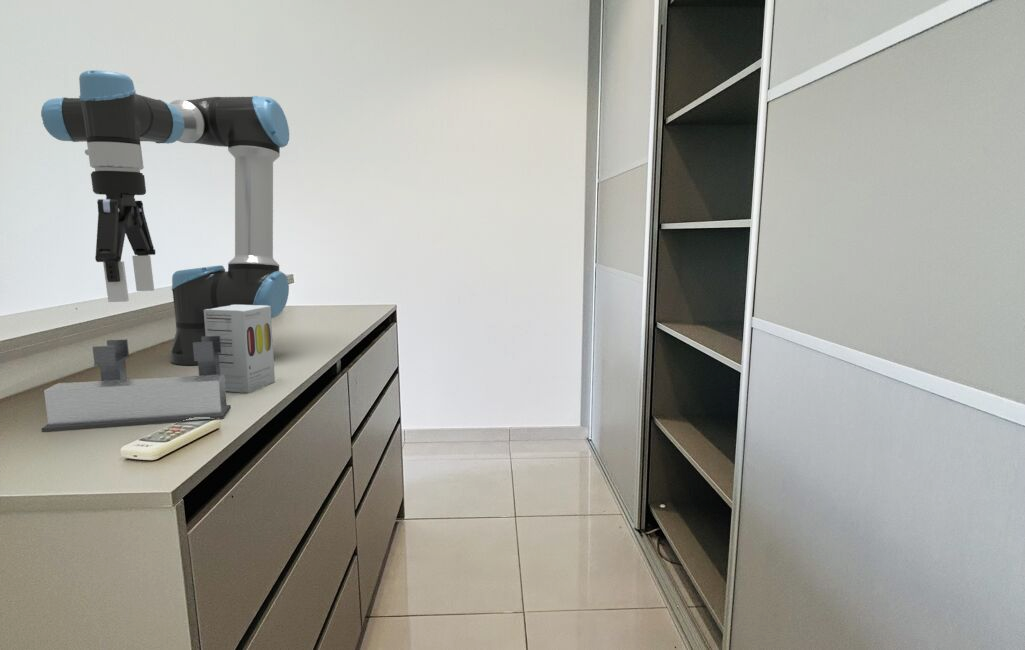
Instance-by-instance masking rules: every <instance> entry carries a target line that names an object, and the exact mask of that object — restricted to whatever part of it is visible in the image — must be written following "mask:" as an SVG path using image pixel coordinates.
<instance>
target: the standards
mask: <svg viewBox="0 0 1025 650" xmlns="http://www.w3.org/2000/svg"><path fill="white" fill-rule="evenodd" d="M201 340H202V342H193V351H194V361H198V365H197V366H198V367H197V369H198V370H197V371H198V376H203V375H220V365H219V354H221V342H220V336H202V337H201ZM92 354H93V363H94V366H95V367H99V370H100V377H101V381H111V380H128V375H127V368H126V367H127V365H126V359H128V358H130V352H129V342H128V339H126V338H125V339H107V340H106V345H96V346H95V345H94V346H92Z"/></svg>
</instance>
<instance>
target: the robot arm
mask: <svg viewBox="0 0 1025 650" xmlns="http://www.w3.org/2000/svg"><path fill="white" fill-rule="evenodd" d="M78 80H79V81H78V83H79V94H80V95H79V96H78V97H66V96H65V97H64V96H63V97H59V98H57V97H56V98H50V99H48V100H46V101H45V102H44V103H43V105H42V107H41V112H40V116H41V119H42V125H43V126H44V128H45V130H46V131H47V133H49V134H50V136H51V137H53V138H54V139H57V140H59V141H61V142H62V141H63V142H72V143H79V142H85V143H86V146H87V149H85V150H84V155H86V156H88V160H89V166H90V167H91V168H93V169H94V170H93V171H91V173H90V179H91V185H92V192H93V193H94V194H96V195H103V196H104V195H105V197H106V198H105V199H103V198H100V199H99V198H98V199H97V200H96V201H97V213H98V215H97V230H96V232H97V233H96V246H95V262H96V263H102V265H103V272H104V273H103V274H104V279H105V286H106V293H107V301H108V303H118V302H119V303H120V302H123V303H124V302H125V303H126V302H130V298H129V291H128V284H127V283H128V282H127V275H126V267H125V261H122V255H123V249H124V244H125V238H126V237H127V240H128V242H129V244H130V246H131V249H132V251H133V253H134V255H132V264H133V273H134V281H135V289H136V290H135V291H136V292H147V291H148V292H150V291H151V292H153V291H155V285H154V276H153V275H154V274H153V267H152V259H151V258H152V257H151V256H155V255H156V249H155V247H154V244H153V240H152V237H151V233H150V230H149V225H148V222H147V219H146V216H145V211H144V210H145V209H144V203H143V201H142V200H136V198H135V196H144V195H146V193H147V189H146V188H147V187H146V186H147V185H146V180H145V179H146V178H145V175H144V174H143V173H142V172H141V170H142V171H143V169H144V168H145V167H144V160H143V152H142V146H141V142H151V143H156V144H168V145H169V144H173V143H176V142H179V143H183V144H197V145H199V144H200V145H206V146H213V147H222V148H223V147H226V148H227V150H228V153H229V154H230V155H231V156H232V157H233V158H234V257H233V258H232V259H231V260H230V261H229V262H228V263H227V266H228V267H227V271H226V269H225V267H224V265H211V266H205V267H197V268H196V267H195V268H189V269H181V270H176V271H175V272H174V273H173V274H172V278H171V280H172V281H171V291H172V298H173V310H174V317H175V318H174V320H175V329H176V331H175V334H174V338H173V343H172V347H171V349H170V352H169V353H170V362H171V363H172V364H175V365H182V366H183V365H184V366H196V365H197V366H198V361H194V351H193V342H202V340H201V337H202V336H206V334H205V321H204V310H205V309H212V308H218V307H224V306H230V305H266V306H270V307H271V319H274V318H276V317H278V316H279V315H280V314H281V313H282V312H283V311H284V308H286V305H287V303H288V299H289V298H288V297H289V293H290V292H289V291H290V286H289V284H290V283H289V281H288V279H289V278H288V277H287V275H286V274H285V272H282V271H280V264H279V263H278V262H277V261H276V260H275V259H274V236H273V235H274V162H275V161H276V160H278V159H279V157H280V153H281V152H280V148H284V147H286V146H288V144H289V140H290V128H289V127H290V126H289V124H288V119H287V116H286V115H285V112H284V110H283V108H282V107H281V105H280V104H279V103H278V101H276V100H275V99H274V98H272V97H268V96H258V95H253V96H210V97H202V98H195V99H177V100H176V99H175V100H173V101H171V102H170V103H167V102H165V101H164V100H162V99H156V98H152V97H148V96H144V95H140V94H137V93H136V89H135V85H134V81H133V79H132V78H131V77H130V76H128V75H126V74H124V73H120V72H116V71H108V70H98V69H97V70H94V69H93V70H86V71H83V72H81V73H80V74H79V78H78Z"/></svg>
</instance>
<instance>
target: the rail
mask: <svg viewBox="0 0 1025 650" xmlns="http://www.w3.org/2000/svg"><path fill="white" fill-rule="evenodd" d="M226 393H227V391H226V390H225V378H224V374H222V375H203V376H199V375H188V376H186V375H185V376H169V377H151V378H149V377H148V378H135V379H133V378H130V379H127V380H111V381H102V380H95V381H94V380H93V381H79V382H75V381H74V382H59V383H56V384H54V385H52V386H50V387H48V388H46V389H44V390H43V394H44V402H45V408H46V415H47V424H48V425H49V426H51V425H66V424H80V423H94V422H109V421H123V420H138V419H152V418H166V417H181V416H195V415H209V414H221V413H222V412H223V411H224V409H225V408H226V406H227V405H228V404H227V394H226Z"/></svg>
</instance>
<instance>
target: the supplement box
mask: <svg viewBox="0 0 1025 650" xmlns="http://www.w3.org/2000/svg"><path fill="white" fill-rule="evenodd" d="M204 321H205V334H206V336H220V342H221V354H219V365H220V375H222V374H224V378H225V390H226V392H233V393H244V394H249V393H251V392H254V391H256V390H259V389H261V388H263V387H266V386H268V385H271V384H273V383H275V382H276V379H275V378H276V375H275V360H274V358H275V357H274V348H273V347H274V344H273V341H274V340H273V327H272V326H273V325H272V318H271V307H270V306H266V305H230V306H224V307H218V308H212V309H205V310H204Z"/></svg>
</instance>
